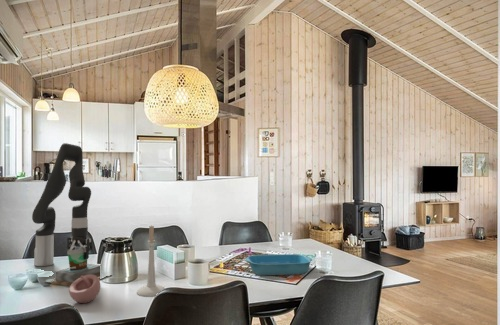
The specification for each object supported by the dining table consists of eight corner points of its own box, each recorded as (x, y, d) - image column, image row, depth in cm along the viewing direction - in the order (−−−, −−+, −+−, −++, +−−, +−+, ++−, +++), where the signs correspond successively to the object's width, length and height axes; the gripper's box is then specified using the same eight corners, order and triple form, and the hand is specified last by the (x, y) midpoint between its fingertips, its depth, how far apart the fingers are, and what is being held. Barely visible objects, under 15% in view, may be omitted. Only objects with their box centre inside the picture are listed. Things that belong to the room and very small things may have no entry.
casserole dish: (305, 264, 220) (305, 252, 220) (317, 275, 198) (317, 261, 198) (242, 267, 215) (242, 254, 215) (248, 278, 193) (248, 264, 193)
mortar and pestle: (62, 305, 155) (62, 276, 155) (84, 295, 166) (84, 269, 166) (85, 308, 151) (85, 279, 151) (106, 299, 162) (106, 272, 162)
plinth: (44, 282, 185) (44, 271, 185) (79, 271, 206) (79, 261, 206) (79, 287, 177) (79, 276, 177) (111, 275, 198) (112, 264, 198)
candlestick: (138, 298, 163) (138, 228, 164) (134, 289, 175) (135, 224, 175) (168, 294, 168) (168, 226, 169) (162, 286, 180) (163, 222, 180)
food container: (78, 271, 184) (77, 250, 185) (67, 271, 186) (66, 250, 186) (95, 264, 196) (93, 245, 197) (84, 264, 198) (83, 245, 198)
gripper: (62, 226, 191) (62, 259, 191) (85, 228, 186) (84, 261, 186) (74, 224, 198) (74, 255, 198) (96, 226, 193) (96, 258, 193)
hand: (79, 258), depth 192 cm, fingers open, 8 cm apart
